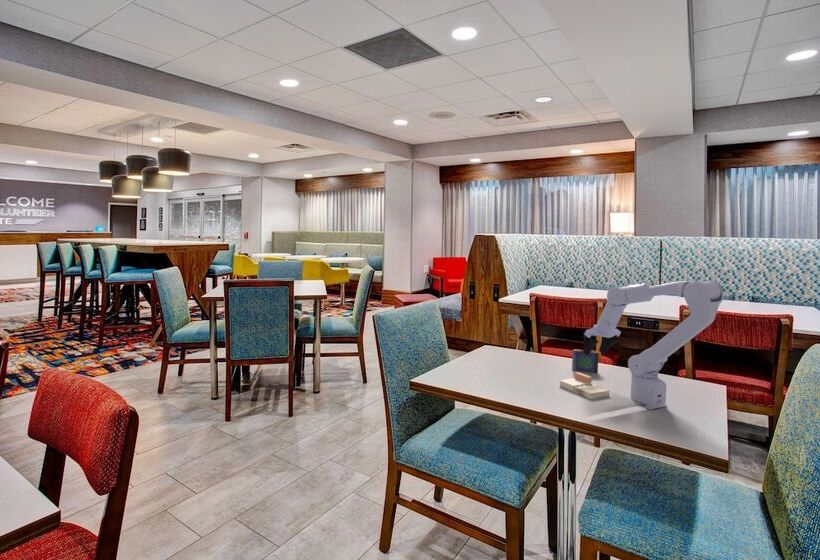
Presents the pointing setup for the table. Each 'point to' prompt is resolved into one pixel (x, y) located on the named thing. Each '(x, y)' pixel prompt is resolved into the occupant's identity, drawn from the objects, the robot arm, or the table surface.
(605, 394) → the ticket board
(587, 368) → the flask
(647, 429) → the table surface
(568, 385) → the cream block with bar
